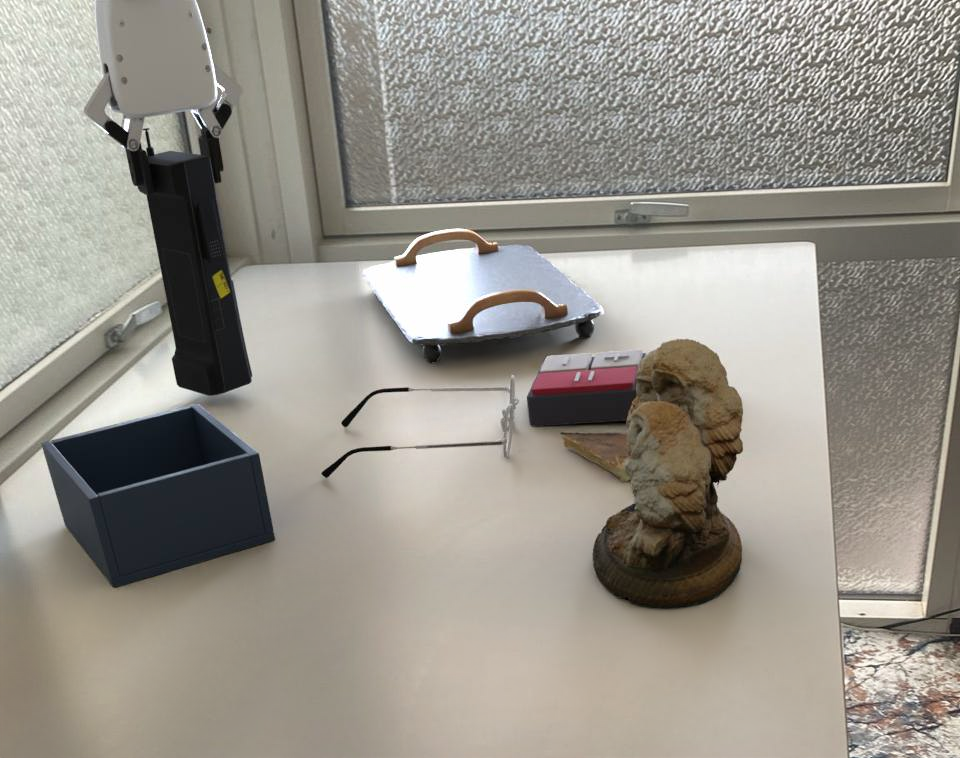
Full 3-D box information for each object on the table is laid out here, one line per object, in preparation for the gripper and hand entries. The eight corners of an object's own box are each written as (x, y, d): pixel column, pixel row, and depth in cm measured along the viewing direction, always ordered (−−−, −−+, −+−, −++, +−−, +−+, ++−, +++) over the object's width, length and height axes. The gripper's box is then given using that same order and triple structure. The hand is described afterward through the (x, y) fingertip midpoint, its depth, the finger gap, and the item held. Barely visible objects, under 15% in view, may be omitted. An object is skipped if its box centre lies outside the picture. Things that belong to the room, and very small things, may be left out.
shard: (560, 447, 127) (559, 429, 126) (629, 428, 129) (629, 410, 128) (618, 484, 119) (618, 465, 118) (691, 464, 121) (691, 444, 120)
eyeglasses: (518, 474, 123) (514, 420, 120) (319, 484, 125) (311, 432, 122) (524, 411, 135) (521, 362, 132) (344, 422, 137) (336, 373, 134)
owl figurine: (592, 513, 115) (586, 308, 104) (731, 507, 113) (739, 298, 103) (593, 613, 100) (586, 387, 90) (751, 607, 99) (763, 377, 89)
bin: (113, 588, 111) (88, 499, 106) (65, 525, 122) (40, 442, 117) (275, 540, 116) (259, 453, 111) (214, 484, 127) (197, 403, 122)
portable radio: (262, 384, 145) (222, 126, 130) (219, 399, 142) (172, 137, 127) (218, 371, 150) (174, 121, 135) (175, 386, 147) (124, 131, 131)
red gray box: (542, 352, 138) (688, 341, 135) (546, 393, 141) (689, 384, 137) (524, 389, 130) (680, 379, 126) (529, 433, 132) (682, 423, 129)
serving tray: (358, 286, 177) (351, 236, 173) (525, 261, 180) (523, 211, 176) (418, 375, 147) (412, 317, 143) (618, 342, 150) (617, 284, 146)
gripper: (216, -38, 128) (247, 167, 139) (38, -18, 122) (86, 195, 133) (243, -35, 123) (274, 178, 134) (59, -14, 117) (107, 208, 128)
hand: (180, 185), depth 134 cm, fingers closed on portable radio, 6 cm apart
